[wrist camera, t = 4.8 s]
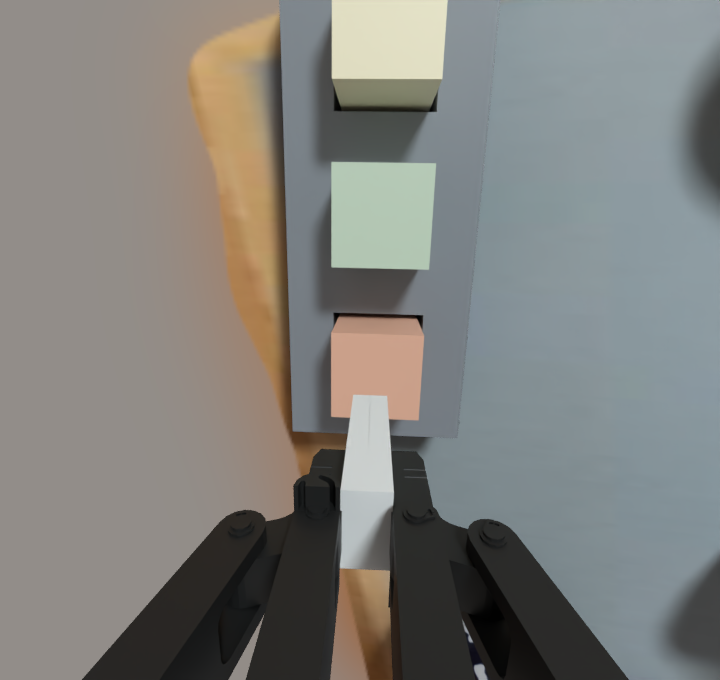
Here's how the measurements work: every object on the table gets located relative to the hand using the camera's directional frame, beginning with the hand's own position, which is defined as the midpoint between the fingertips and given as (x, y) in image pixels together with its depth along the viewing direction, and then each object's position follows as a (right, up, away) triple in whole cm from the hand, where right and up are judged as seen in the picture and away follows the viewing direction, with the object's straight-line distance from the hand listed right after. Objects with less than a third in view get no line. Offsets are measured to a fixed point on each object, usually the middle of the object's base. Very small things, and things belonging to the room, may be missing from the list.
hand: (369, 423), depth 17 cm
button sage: (+1, +12, +9) cm, 15 cm away
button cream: (+1, +21, +7) cm, 22 cm away
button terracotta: (+1, +3, +12) cm, 12 cm away
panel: (+1, +13, +12) cm, 17 cm away
